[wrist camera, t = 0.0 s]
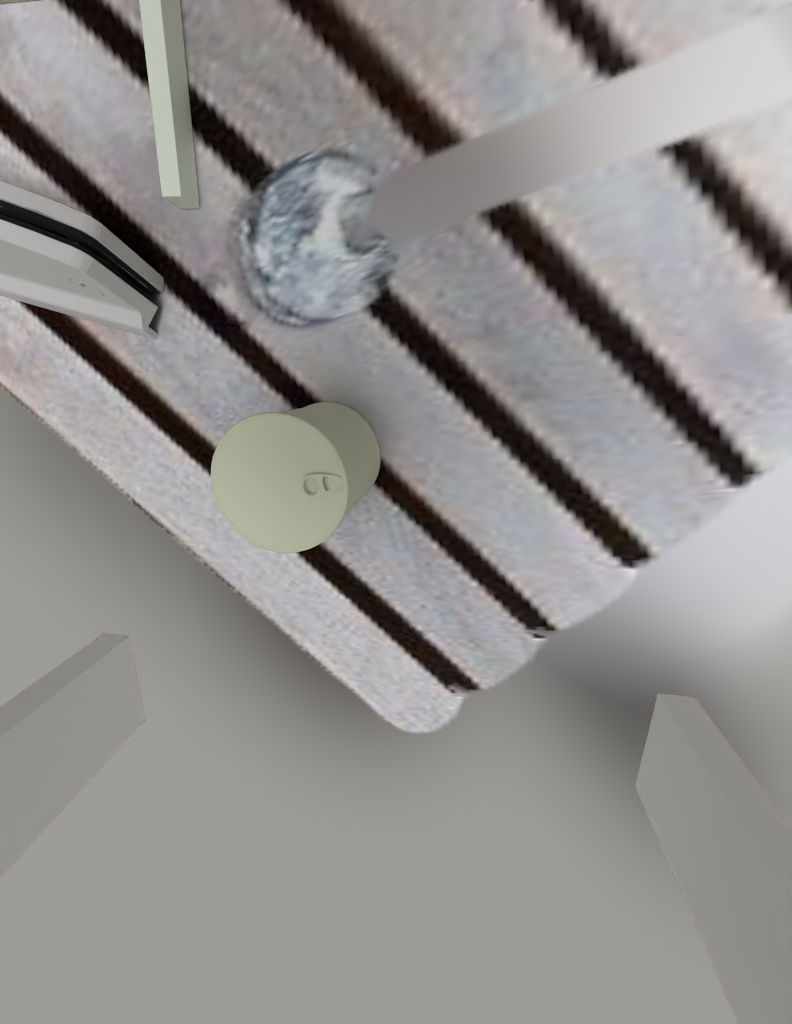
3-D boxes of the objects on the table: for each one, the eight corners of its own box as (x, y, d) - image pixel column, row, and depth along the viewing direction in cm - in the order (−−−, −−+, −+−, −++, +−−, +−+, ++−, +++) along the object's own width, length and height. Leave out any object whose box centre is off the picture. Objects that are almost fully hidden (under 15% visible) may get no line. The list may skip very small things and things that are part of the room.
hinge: (-15, 291, 38) (-168, 207, 28) (1, 240, 38) (-145, 139, 28) (160, 341, 37) (68, 273, 27) (177, 289, 37) (90, 202, 27)
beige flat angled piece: (-145, -109, 31) (-193, -148, 29) (165, -153, 28) (139, -200, 26) (-64, 215, 37) (-98, 204, 35) (199, 208, 34) (181, 196, 32)
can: (387, 501, 39) (356, 552, 27) (289, 509, 40) (223, 560, 29) (373, 396, 36) (334, 403, 25) (270, 408, 38) (189, 421, 26)
